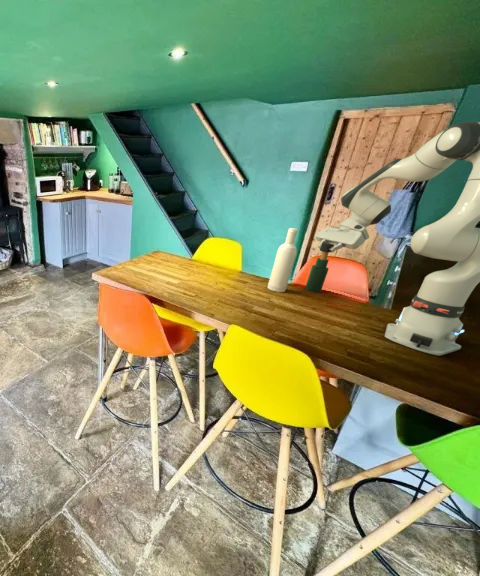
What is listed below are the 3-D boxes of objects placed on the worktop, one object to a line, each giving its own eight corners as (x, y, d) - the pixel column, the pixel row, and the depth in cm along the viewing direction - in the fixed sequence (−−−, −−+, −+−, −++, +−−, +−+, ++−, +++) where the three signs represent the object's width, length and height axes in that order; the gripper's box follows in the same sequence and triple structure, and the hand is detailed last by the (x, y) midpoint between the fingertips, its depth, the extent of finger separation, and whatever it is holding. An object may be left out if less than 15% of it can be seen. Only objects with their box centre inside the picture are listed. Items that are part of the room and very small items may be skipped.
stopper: (325, 263, 143) (331, 245, 140) (314, 260, 146) (320, 243, 143) (330, 262, 145) (336, 244, 142) (319, 259, 149) (324, 242, 146)
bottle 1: (286, 293, 143) (305, 230, 133) (267, 290, 146) (284, 228, 136) (284, 288, 150) (302, 228, 140) (266, 285, 153) (282, 226, 143)
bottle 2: (317, 293, 147) (327, 261, 141) (302, 288, 152) (312, 258, 146) (323, 291, 150) (333, 260, 145) (308, 287, 155) (318, 257, 150)
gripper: (327, 221, 150) (304, 240, 152) (368, 228, 132) (342, 249, 133) (331, 230, 153) (309, 248, 154) (373, 238, 134) (347, 259, 136)
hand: (325, 249), depth 144 cm, fingers closed on stopper, 5 cm apart
